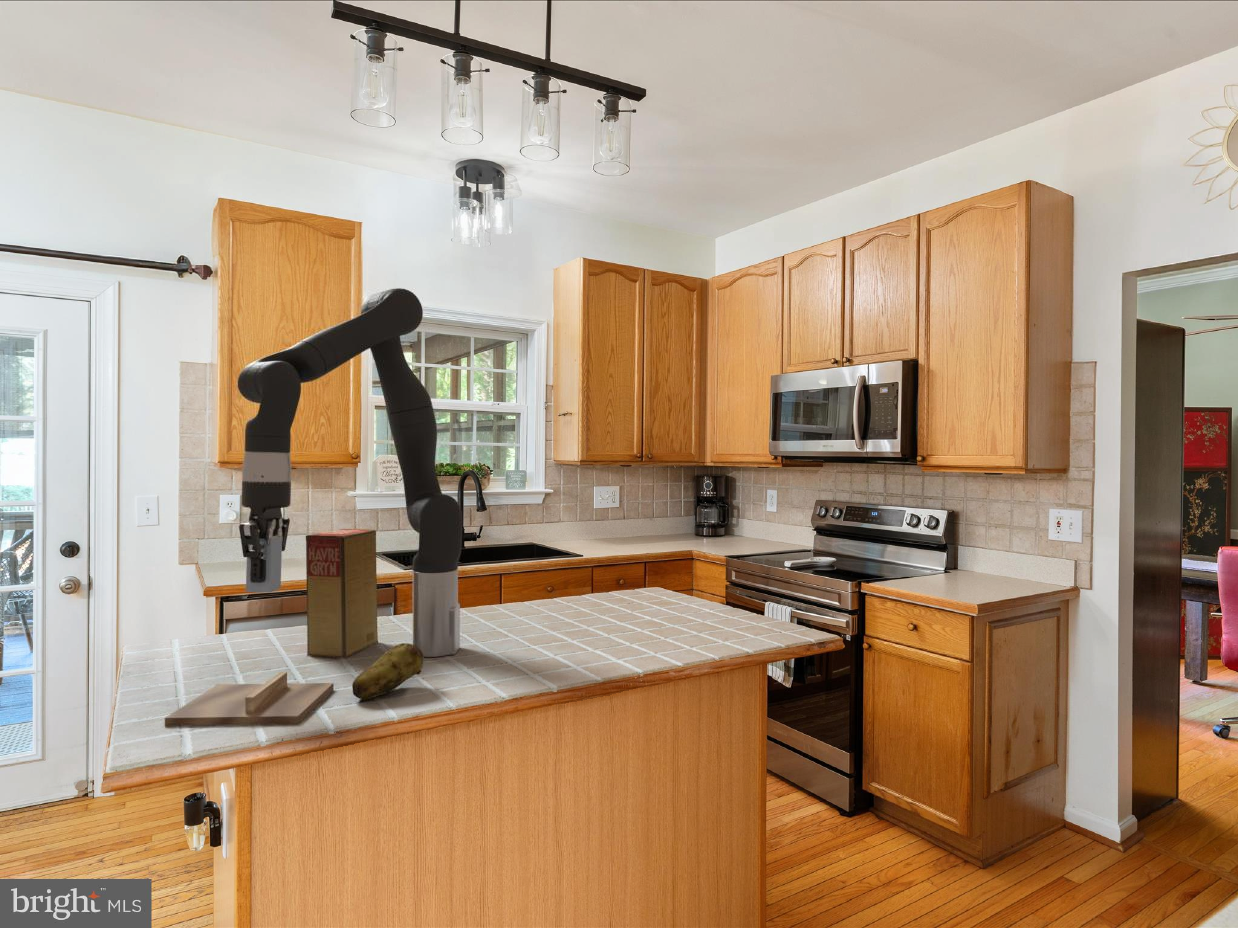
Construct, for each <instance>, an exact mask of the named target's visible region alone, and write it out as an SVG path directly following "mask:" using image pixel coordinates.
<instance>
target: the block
mask: <svg viewBox="0 0 1238 928" xmlns="http://www.w3.org/2000/svg"><path fill="white" fill-rule="evenodd" d="M265 539H266V538H265ZM265 539H260V541H264V540H265ZM248 546H249V545H248ZM249 548H250V546H249ZM261 548H262V546H261ZM282 552H283V551H282V536H280V537H278V536H272V538H271V539H270V545H269V546H268V547H267V555H266V559H265V560H266V580H265V581H264V582H262V583H252V582H251V581H250V573H251V560H249V558H248V557H246V569H245V570H246V573H245V576H246V578H245V593H269V594H270V593H272V592H275V591H277V590H280V589H281V588H282V586H281V585H282Z"/></svg>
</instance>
